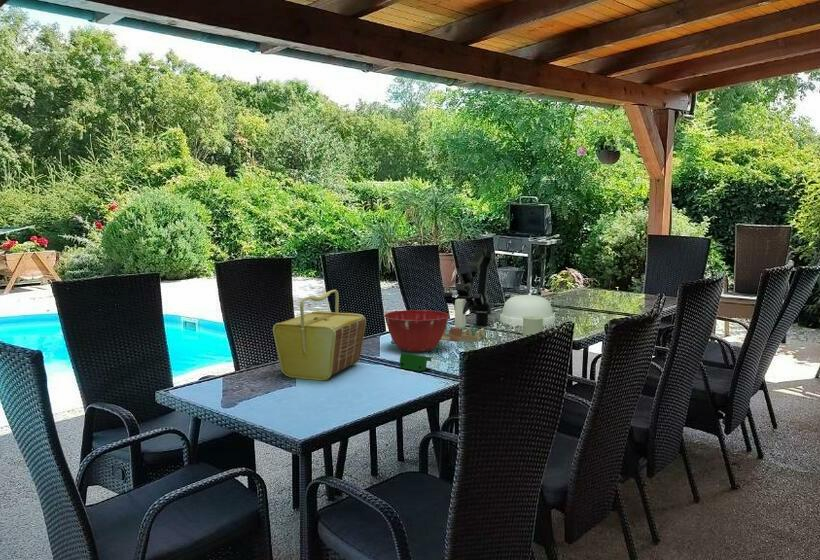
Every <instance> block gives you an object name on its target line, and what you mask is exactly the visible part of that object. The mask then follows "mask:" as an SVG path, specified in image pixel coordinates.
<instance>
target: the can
mask: <svg viewBox="0 0 820 560" xmlns="http://www.w3.org/2000/svg"><path fill="white" fill-rule="evenodd" d="M541 330H543V331H544V326H543V317H540V316H524V317H523V326H522V337H523V336H526V335H530V334H533V333H536V332H539V331H541Z"/></svg>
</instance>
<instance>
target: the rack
mask: <svg viewBox="0 0 820 560" xmlns="http://www.w3.org/2000/svg"><path fill="white" fill-rule="evenodd" d="M472 330H473V329H472V327H471V326H470V327H469V326H468V327H467V328H465V330H462V328H457V327H455V326H454V327H450V328H449V330H448V333H447V327H446V328H445V331H444V333H443V335H442V338H441V340H440V341H447V342H449V341H450V342H458V341H466V342H465V343H469V342H477V341H479V340H480V341H482V340H483V339H485V328H484V327H481V329H479V330H477V331H476V332H474V335H472V334H473V333H472ZM482 338H483V339H482ZM481 339H482V340H481ZM480 341H479V342H480ZM477 343H478V342H477Z"/></svg>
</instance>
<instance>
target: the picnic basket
mask: <svg viewBox="0 0 820 560" xmlns="http://www.w3.org/2000/svg"><path fill="white" fill-rule="evenodd" d="M333 293H334V294H335V302H334V304H335V305H334V306H335V307H334V311H335V312H333V311H320V310H319V311H318V310H317V311H310V312H309V313H306V314H305V309H304V305H305V302H306V301H309V300H311V301H313V302H320V301H323V300H325V299H327V298H329V296H331V294H333ZM339 297H340V296H339V291H338V290H337V289H331V290H329V291H327V292H325V293H323V294H322V295H319V296H307V297H304V298H302V299H301V300H300V304H299V310H300V311H299V312H300V313H299V314H300V316H296V317H293V318H290V319H287V320H284V321H282V322H276V323H275V324H274V325H273V327H272V334H273V338H274V343H275V347H276V351H277V352H276V353H277V357H278V363H279V366H280V371H281V373H283V375H285V376H287V377H289V378H294V379H303V380H311V381H312V380H314V381H326V380H329V379H330V378H331V376H333V375H335V374H337V373H340V372H341V371H342V370H345V369H347V368H349V367H350V366H351V365H356V364H358V362H360V359H361V354H362V348H363V341H364V337H365V331H366V326H367V319H366V317H365V316H364V315H363V314H361V313H351V312H350V313H349V312H339V310H340V309H339V302H340V301H339V299H340V298H339Z"/></svg>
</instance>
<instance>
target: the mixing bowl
mask: <svg viewBox="0 0 820 560" xmlns="http://www.w3.org/2000/svg"><path fill="white" fill-rule="evenodd" d="M383 316H384V320H385V323H386V326H387V329H388V332H389V335H390V336H391V339H392V341H393V343H394V344H395V346H396V347H398V348H400V349H401V351H405V352H410V353H425V352H429V351H431V350H433V349H434V348H435V347H437V346H438V345H439V343H440V342H441V341H442V340H441V338H442V335H443V333H444V331H445V328H446V329H447V324H448V320H449V317H450V314H448V313H447V312H444V311H438V310H431V309H429V310H427V309H426V310H425V309H409V310H408V309H406V310H405V309H404V310H397V311H396V310H395V311H391V312H386V313H384V315H383Z"/></svg>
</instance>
